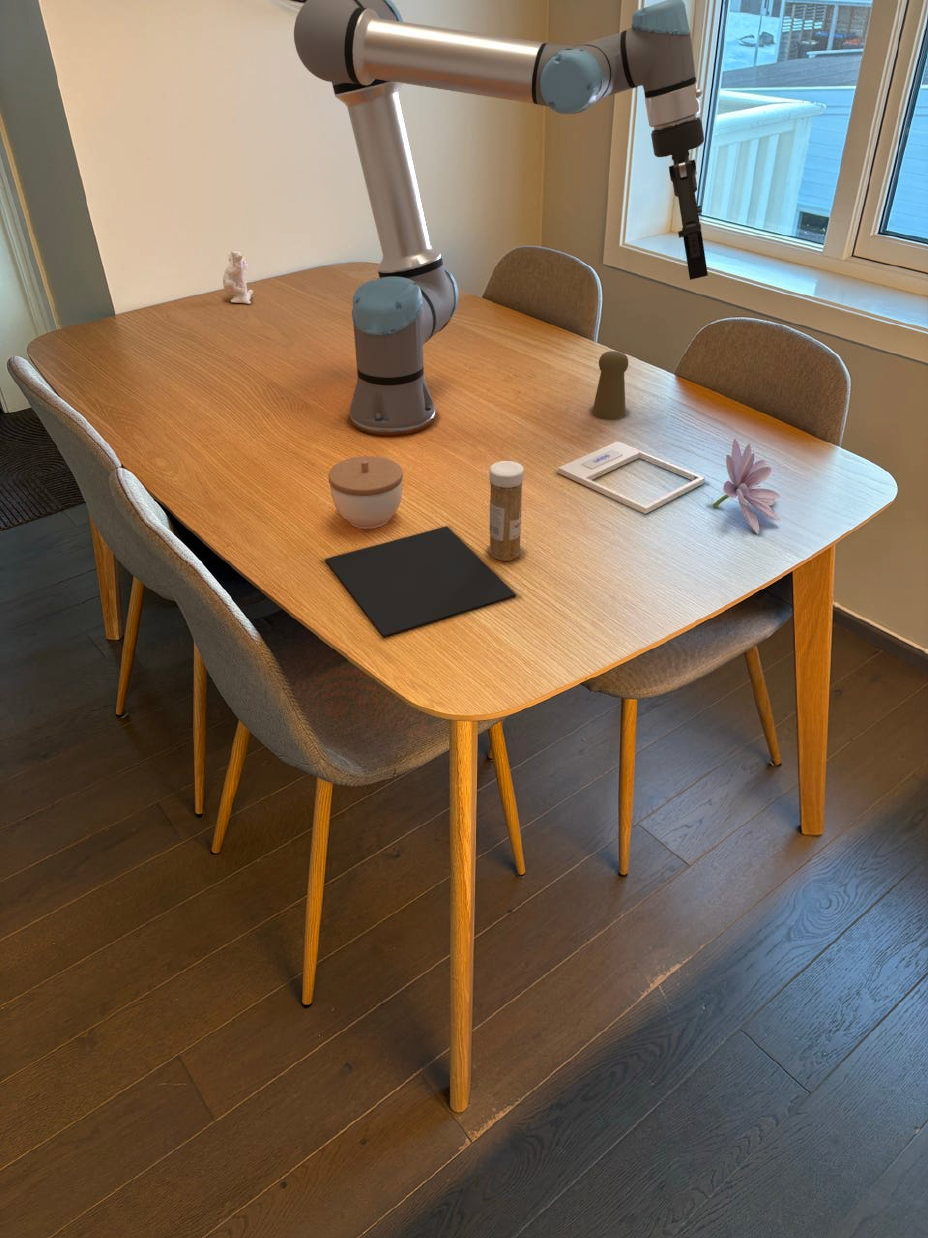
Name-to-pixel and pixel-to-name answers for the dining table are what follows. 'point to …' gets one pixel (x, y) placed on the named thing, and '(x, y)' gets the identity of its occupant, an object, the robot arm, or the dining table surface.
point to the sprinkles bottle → (505, 510)
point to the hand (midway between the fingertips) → (697, 267)
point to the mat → (418, 580)
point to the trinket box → (366, 490)
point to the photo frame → (614, 458)
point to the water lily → (748, 485)
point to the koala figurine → (237, 278)
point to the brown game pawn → (611, 386)
